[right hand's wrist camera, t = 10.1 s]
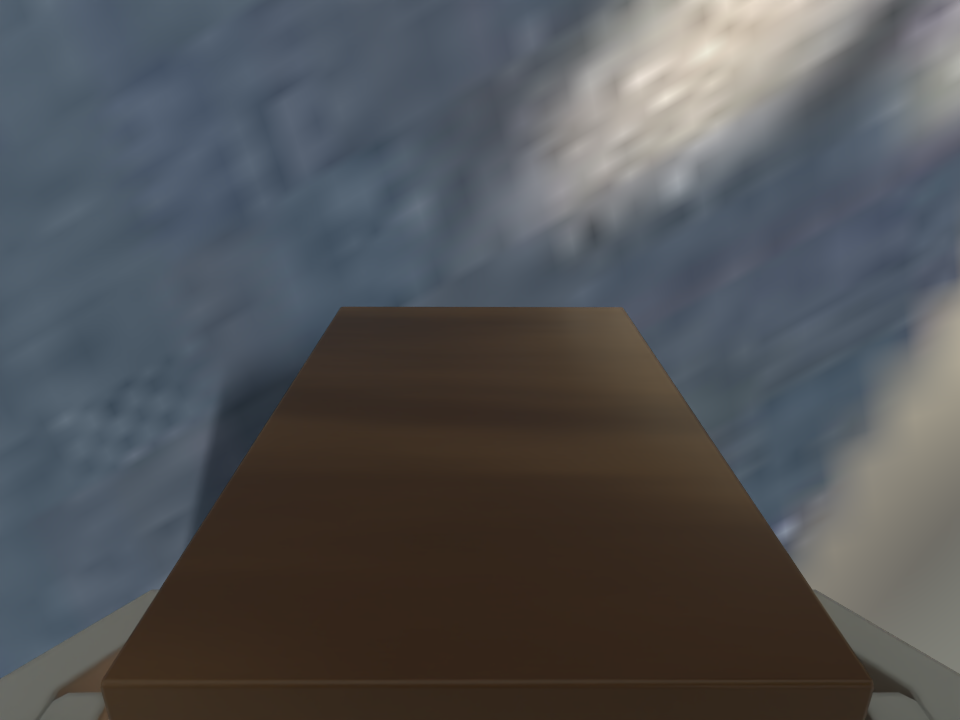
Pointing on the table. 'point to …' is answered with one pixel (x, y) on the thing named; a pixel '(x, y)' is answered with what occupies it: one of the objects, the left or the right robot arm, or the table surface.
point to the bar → (485, 546)
